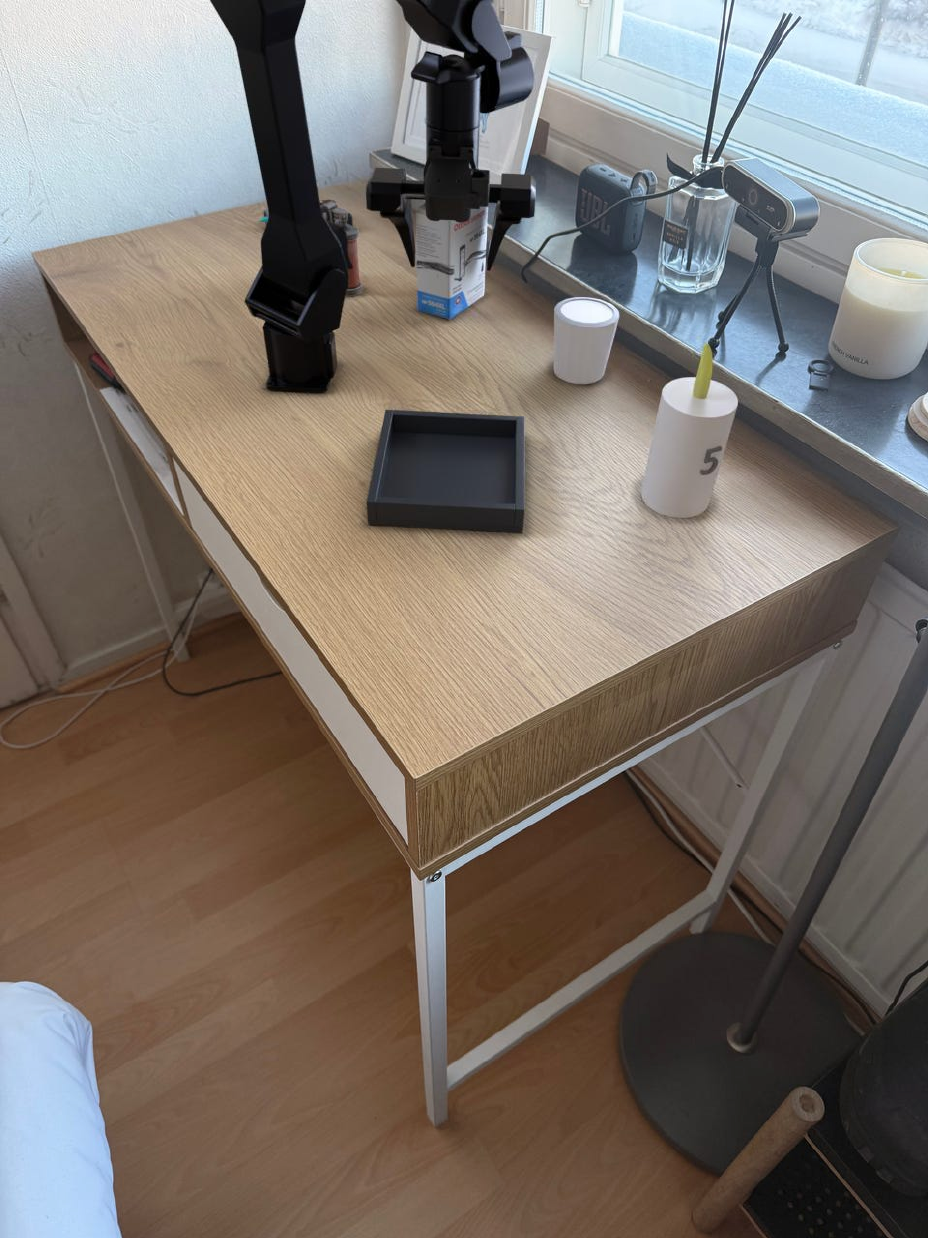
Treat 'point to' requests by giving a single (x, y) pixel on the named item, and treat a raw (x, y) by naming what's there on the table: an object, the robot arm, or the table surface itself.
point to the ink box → (450, 262)
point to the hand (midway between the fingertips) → (450, 267)
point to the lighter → (340, 218)
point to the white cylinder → (583, 338)
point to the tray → (449, 472)
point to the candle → (688, 442)
